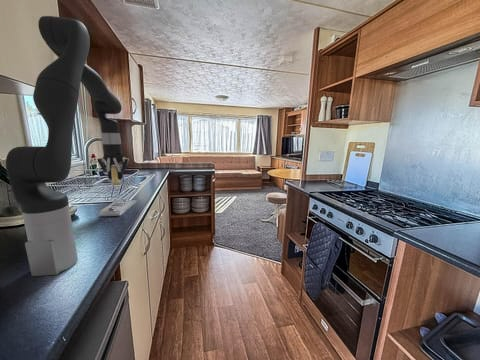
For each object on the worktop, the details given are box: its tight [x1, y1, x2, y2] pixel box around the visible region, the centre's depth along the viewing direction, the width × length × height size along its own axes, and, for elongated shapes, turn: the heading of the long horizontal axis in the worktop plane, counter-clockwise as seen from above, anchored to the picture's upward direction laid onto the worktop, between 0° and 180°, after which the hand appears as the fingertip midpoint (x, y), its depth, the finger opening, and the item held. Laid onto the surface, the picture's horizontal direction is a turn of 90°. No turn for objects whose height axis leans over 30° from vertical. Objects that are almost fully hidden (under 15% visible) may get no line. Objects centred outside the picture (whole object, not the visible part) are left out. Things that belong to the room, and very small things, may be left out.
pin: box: [110, 165, 122, 186], centre depth 100 cm, size 4×4×9 cm
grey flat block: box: [99, 199, 137, 217], centre depth 104 cm, size 20×8×3 cm, turn 7°
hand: (115, 179), depth 100 cm, fingers closed on pin, 3 cm apart
